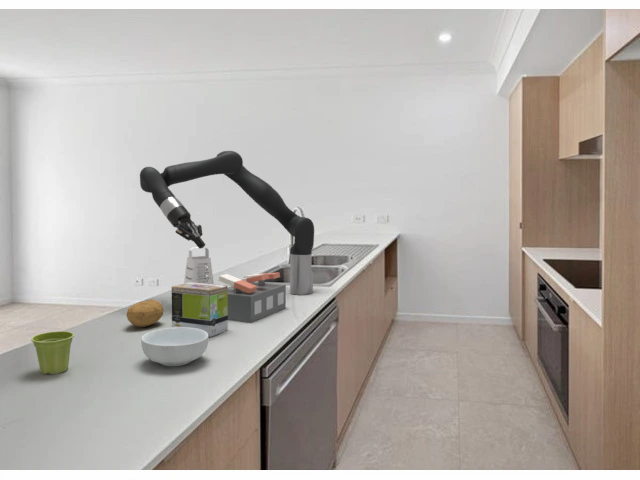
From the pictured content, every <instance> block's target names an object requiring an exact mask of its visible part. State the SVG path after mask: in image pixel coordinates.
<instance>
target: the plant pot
mask: <svg viewBox="0 0 640 480" xmlns="http://www.w3.org/2000/svg"><path fill="white" fill-rule="evenodd" d="M74 337H75V333H74V332H71V331H67V330H65V331H64V330H63V331H62V330H61V331H59V330H58V331H48V332H42V333H38V334H36V335H34V336H32V337H31V338H30V341H31V342H32V344H33V346H34V347H35V351H36V356H37V361H38V366H39V370H40V371H39V372H40V373H41V374H43V375H47V374H51V375H57V374H60V373H63V372H66V370H68V369H69V363H70V354H71V345H72V342H73V338H74Z"/></svg>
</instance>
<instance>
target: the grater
mask: <svg viewBox="0 0 640 480" xmlns="http://www.w3.org/2000/svg"><path fill="white" fill-rule="evenodd" d="M194 249H200V248H199V247H198V246H193V247H190V248H189V249H188V256H186V265H185V274H184V280H183V284H185V283H190V282H194V283H205V284H215V283H214V274H213V268H212V266H213V265H212V261H211V257H210V256H209V255H210V251H209V248H208V247H206V246H204V247H203V248H202V249H204V250H205V251H204V252H205V253H204V254H205V255H203V256H199V255H198V256H193V250H194Z"/></svg>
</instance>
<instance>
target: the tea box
mask: <svg viewBox="0 0 640 480" xmlns="http://www.w3.org/2000/svg"><path fill="white" fill-rule="evenodd" d="M228 287H229V285H228V284H215V283H214V284H205V283H194V282H190V283H185V284H184V283H181V284H177V285H172V286H171V328H173V327H190V328H197V329H201V330H204V331H206V332H207V333H208V338H210V337H214V336H217V335H219V334H222V333H225V332H226V331H228V329H229V320H228Z"/></svg>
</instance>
